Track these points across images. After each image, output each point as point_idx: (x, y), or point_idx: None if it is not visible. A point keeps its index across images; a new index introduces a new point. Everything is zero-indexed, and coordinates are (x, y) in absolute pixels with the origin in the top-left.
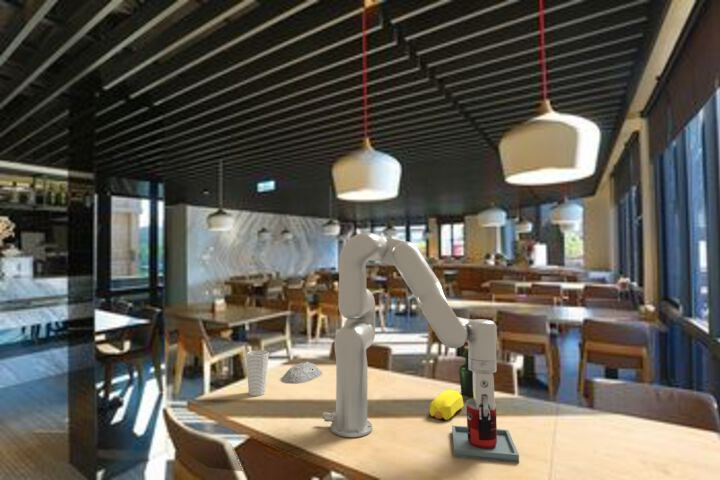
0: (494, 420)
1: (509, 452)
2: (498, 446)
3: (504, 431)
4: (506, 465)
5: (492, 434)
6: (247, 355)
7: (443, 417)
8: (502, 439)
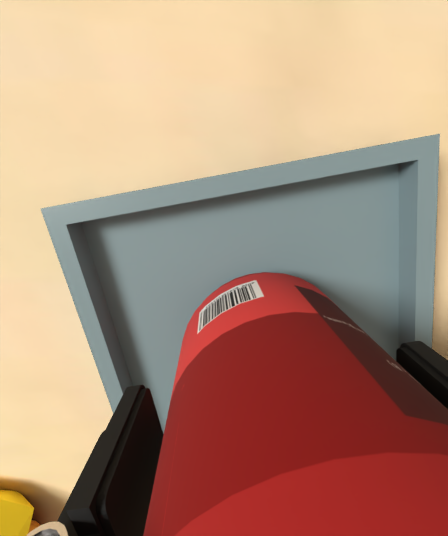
0: (400, 375)
1: (330, 195)
2: (270, 257)
3: (72, 232)
4: (441, 209)
5: (354, 322)
6: None
7: (29, 523)
8: (161, 239)
